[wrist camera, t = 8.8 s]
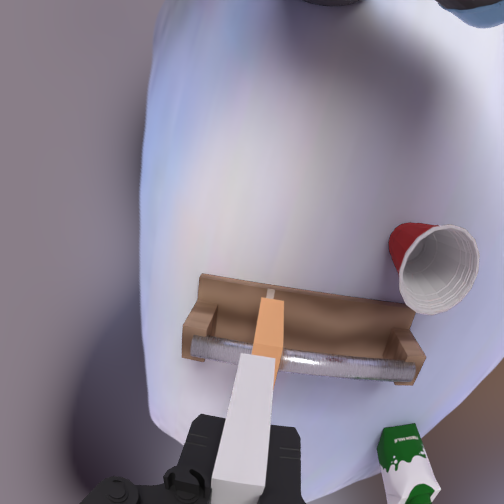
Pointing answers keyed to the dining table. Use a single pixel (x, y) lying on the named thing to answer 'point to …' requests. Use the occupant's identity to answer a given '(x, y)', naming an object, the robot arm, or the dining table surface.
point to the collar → (270, 331)
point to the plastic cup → (433, 265)
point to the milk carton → (406, 466)
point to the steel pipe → (308, 361)
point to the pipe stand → (304, 321)
